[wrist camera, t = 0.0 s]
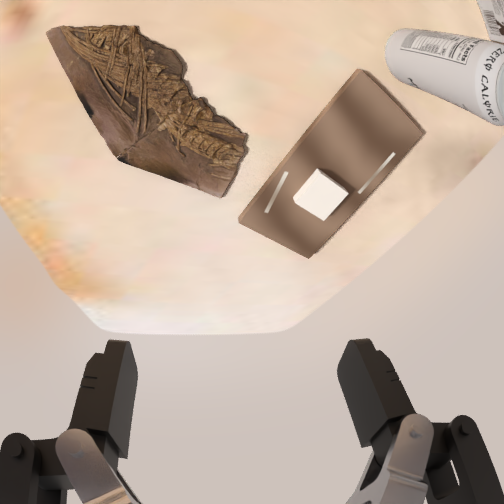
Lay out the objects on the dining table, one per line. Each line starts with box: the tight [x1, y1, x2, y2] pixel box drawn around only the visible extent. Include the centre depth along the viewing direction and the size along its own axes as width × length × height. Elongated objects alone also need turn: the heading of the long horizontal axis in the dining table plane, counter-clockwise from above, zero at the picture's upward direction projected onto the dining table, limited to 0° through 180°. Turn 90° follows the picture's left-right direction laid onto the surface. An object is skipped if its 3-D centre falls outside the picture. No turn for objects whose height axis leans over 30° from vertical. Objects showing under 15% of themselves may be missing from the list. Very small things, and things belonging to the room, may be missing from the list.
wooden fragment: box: [46, 25, 246, 198], centre depth 24 cm, size 26×11×1 cm, turn 36°
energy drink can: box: [385, 28, 504, 126], centre depth 17 cm, size 6×6×15 cm
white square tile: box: [293, 168, 349, 221], centre depth 31 cm, size 4×4×1 cm
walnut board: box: [238, 69, 423, 259], centre depth 30 cm, size 20×10×1 cm, turn 146°
